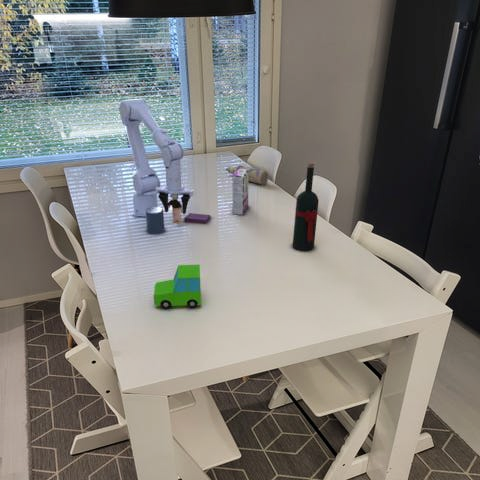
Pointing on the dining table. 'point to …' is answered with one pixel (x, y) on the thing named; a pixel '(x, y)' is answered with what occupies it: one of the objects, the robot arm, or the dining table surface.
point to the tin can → (155, 220)
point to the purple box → (197, 218)
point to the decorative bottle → (252, 174)
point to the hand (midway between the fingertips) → (175, 212)
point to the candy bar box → (240, 191)
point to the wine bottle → (306, 215)
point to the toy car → (180, 288)
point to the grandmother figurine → (176, 208)
